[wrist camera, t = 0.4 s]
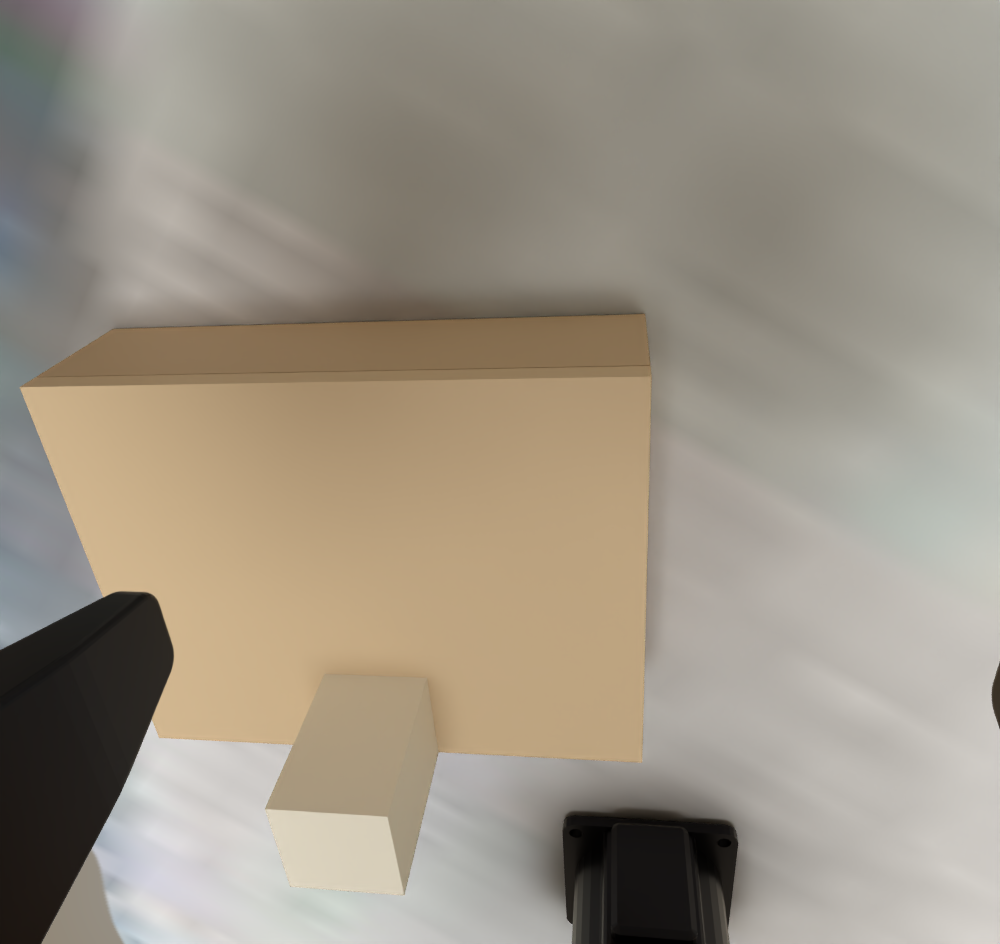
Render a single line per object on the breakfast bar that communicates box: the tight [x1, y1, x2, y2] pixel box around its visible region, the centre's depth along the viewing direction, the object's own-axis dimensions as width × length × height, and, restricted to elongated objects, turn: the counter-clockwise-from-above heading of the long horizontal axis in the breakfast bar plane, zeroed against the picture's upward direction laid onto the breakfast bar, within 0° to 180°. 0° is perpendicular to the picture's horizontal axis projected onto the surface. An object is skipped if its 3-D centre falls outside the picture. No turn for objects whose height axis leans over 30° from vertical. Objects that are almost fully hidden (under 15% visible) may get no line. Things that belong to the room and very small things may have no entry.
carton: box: [37, 314, 650, 377], centre depth 23 cm, size 12×15×4 cm
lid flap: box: [20, 366, 652, 895], centre depth 19 cm, size 12×15×5 cm
